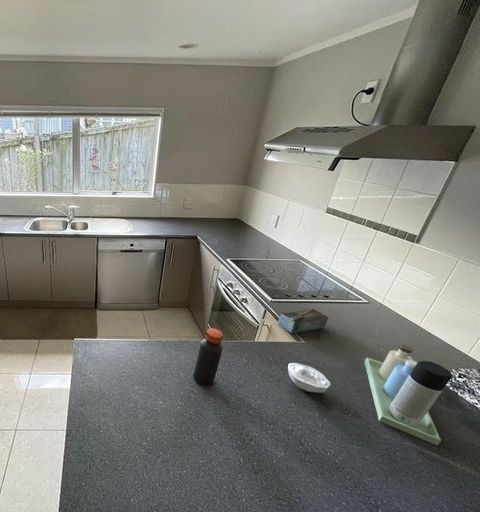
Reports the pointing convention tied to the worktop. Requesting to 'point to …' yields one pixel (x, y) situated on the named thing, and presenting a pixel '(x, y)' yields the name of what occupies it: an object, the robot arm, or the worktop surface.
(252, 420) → the worktop surface
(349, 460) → the worktop surface
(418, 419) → the spray can
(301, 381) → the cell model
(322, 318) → the beverage carton
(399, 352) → the cream bottle
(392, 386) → the pale blue bottle
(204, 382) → the vinegar
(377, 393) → the tray
